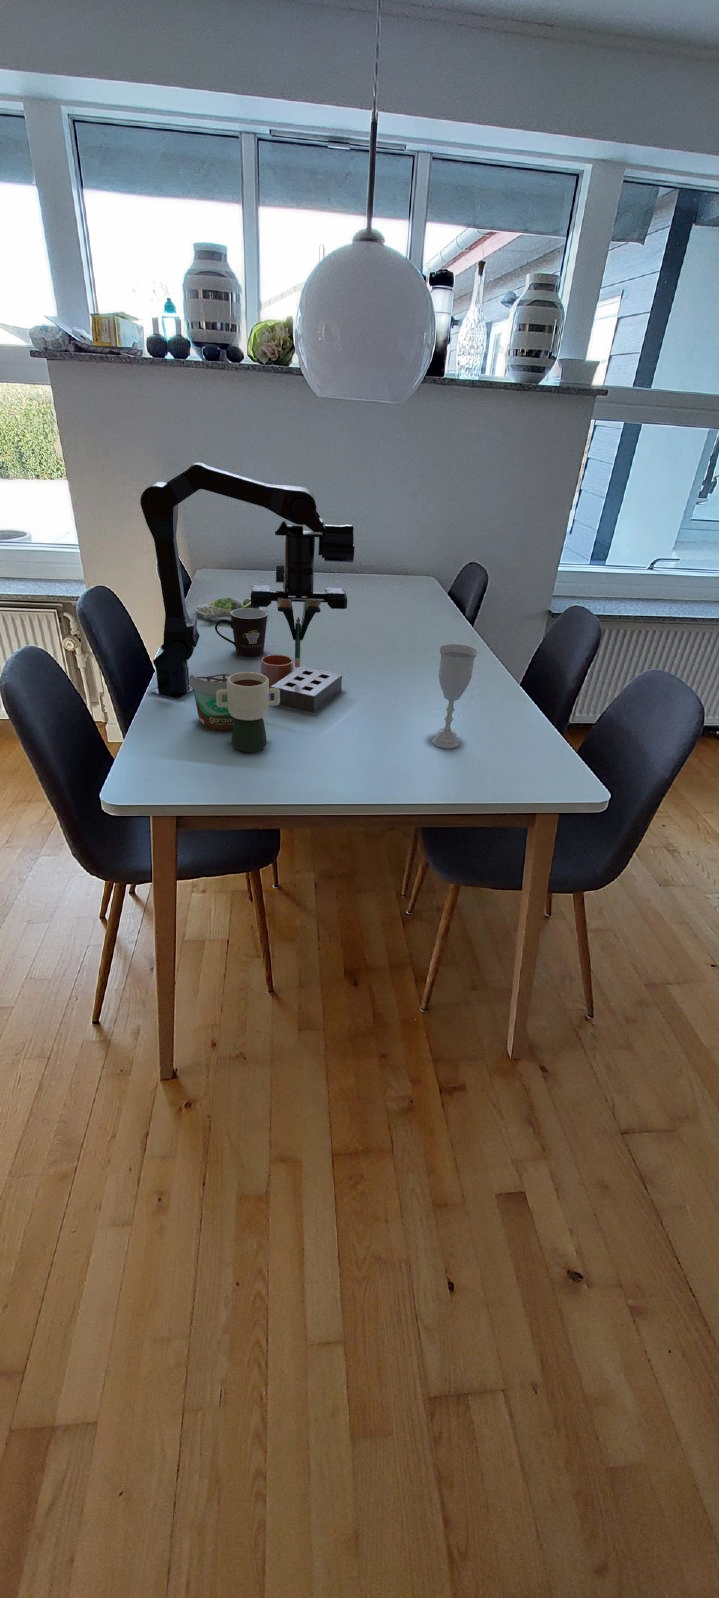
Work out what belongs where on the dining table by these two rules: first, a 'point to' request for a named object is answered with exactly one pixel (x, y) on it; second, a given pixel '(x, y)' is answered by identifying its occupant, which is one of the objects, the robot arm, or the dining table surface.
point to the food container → (211, 702)
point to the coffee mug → (247, 631)
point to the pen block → (307, 688)
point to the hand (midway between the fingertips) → (297, 639)
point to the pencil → (297, 642)
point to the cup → (276, 667)
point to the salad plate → (222, 608)
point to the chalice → (453, 685)
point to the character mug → (248, 708)
